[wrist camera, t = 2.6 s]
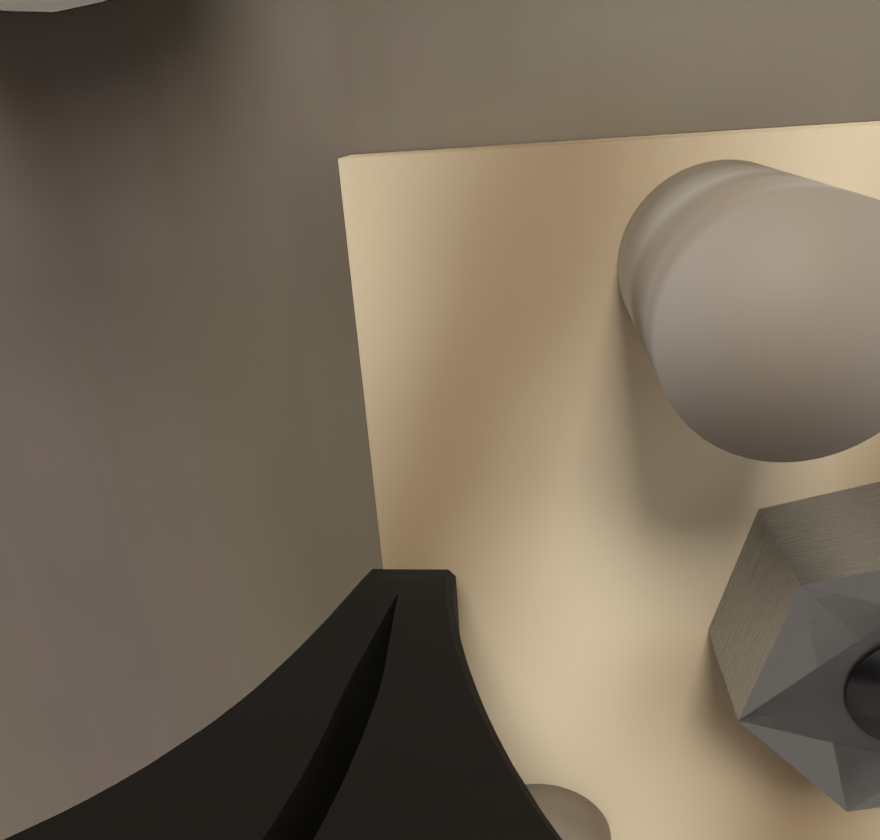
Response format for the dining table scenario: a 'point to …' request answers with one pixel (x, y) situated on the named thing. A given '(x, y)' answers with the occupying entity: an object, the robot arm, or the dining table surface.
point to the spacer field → (618, 435)
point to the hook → (43, 5)
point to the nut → (810, 639)
